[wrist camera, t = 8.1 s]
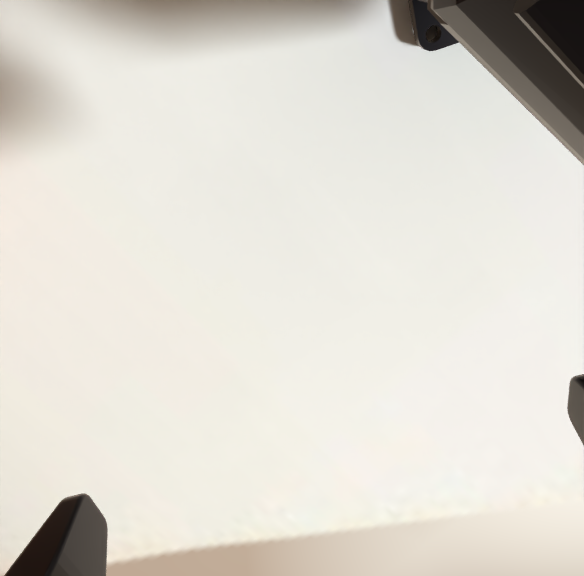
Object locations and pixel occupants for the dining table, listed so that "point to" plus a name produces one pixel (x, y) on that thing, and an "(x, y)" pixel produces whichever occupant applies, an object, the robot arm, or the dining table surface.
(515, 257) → the dining table surface
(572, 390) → the robot arm
